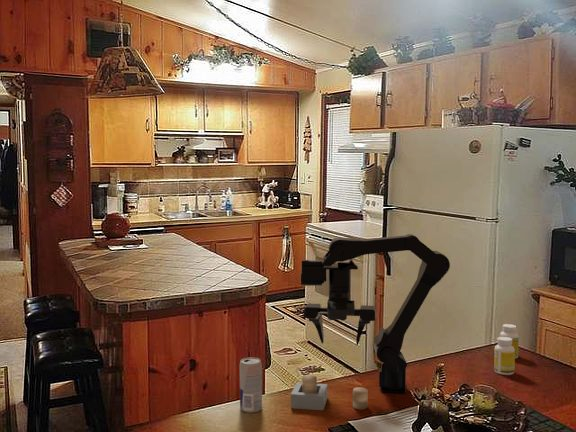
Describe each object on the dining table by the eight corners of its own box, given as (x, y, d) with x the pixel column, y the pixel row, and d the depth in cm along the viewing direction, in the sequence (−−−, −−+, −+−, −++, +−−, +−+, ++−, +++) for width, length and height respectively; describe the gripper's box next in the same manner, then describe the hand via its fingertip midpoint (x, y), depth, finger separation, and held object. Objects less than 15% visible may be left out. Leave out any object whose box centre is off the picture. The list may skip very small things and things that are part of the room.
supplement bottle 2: (518, 372, 161) (519, 339, 161) (506, 376, 158) (507, 342, 158) (501, 367, 166) (502, 334, 165) (490, 371, 163) (490, 338, 162)
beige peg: (303, 399, 144) (303, 374, 143) (317, 400, 143) (317, 375, 142) (301, 405, 140) (301, 379, 140) (315, 406, 139) (315, 380, 139)
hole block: (327, 397, 145) (327, 384, 144) (323, 410, 137) (323, 396, 137) (296, 395, 146) (296, 382, 146) (290, 408, 138) (290, 394, 138)
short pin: (369, 405, 140) (370, 389, 139) (363, 410, 137) (363, 394, 136) (356, 401, 142) (357, 386, 141) (350, 406, 139) (350, 391, 138)
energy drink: (250, 402, 142) (250, 355, 141) (266, 408, 139) (266, 360, 138) (235, 409, 138) (234, 361, 137) (251, 415, 134) (251, 365, 134)
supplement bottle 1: (516, 360, 172) (516, 328, 172) (497, 357, 175) (498, 326, 174) (519, 355, 177) (520, 324, 176) (501, 352, 180) (502, 322, 179)
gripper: (299, 290, 143) (300, 351, 144) (374, 293, 139) (374, 355, 140) (306, 282, 154) (306, 339, 155) (376, 284, 150) (375, 342, 151)
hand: (339, 343), depth 150 cm, fingers open, 9 cm apart
